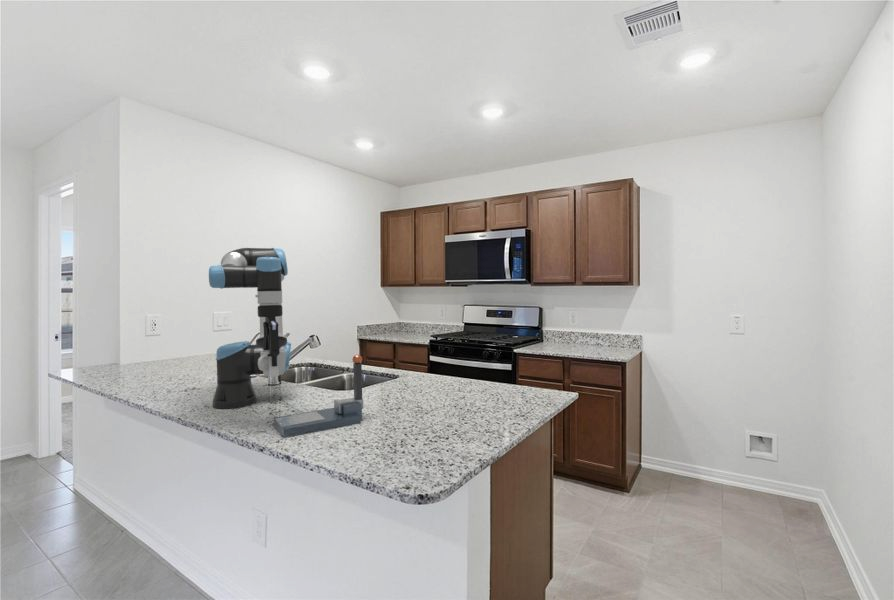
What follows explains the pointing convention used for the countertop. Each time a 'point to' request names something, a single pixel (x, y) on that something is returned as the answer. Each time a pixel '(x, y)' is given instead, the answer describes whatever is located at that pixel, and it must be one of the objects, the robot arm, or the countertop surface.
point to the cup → (264, 361)
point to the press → (318, 420)
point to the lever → (357, 386)
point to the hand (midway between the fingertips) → (272, 374)
